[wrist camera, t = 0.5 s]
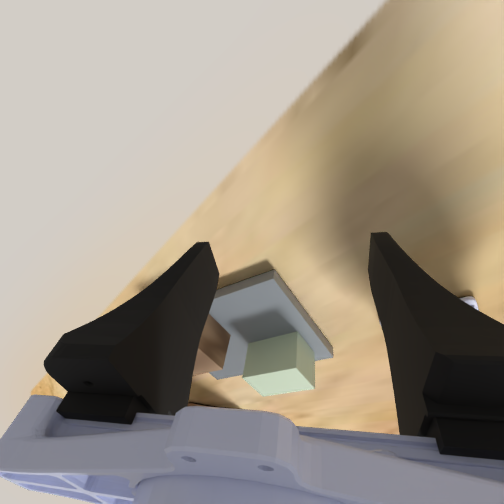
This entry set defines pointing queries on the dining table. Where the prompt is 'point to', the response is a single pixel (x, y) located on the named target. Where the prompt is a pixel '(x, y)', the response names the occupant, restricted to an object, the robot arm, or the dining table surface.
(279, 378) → the green brick
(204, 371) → the walnut brick
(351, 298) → the dining table surface
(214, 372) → the baseplate
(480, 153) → the dining table surface
